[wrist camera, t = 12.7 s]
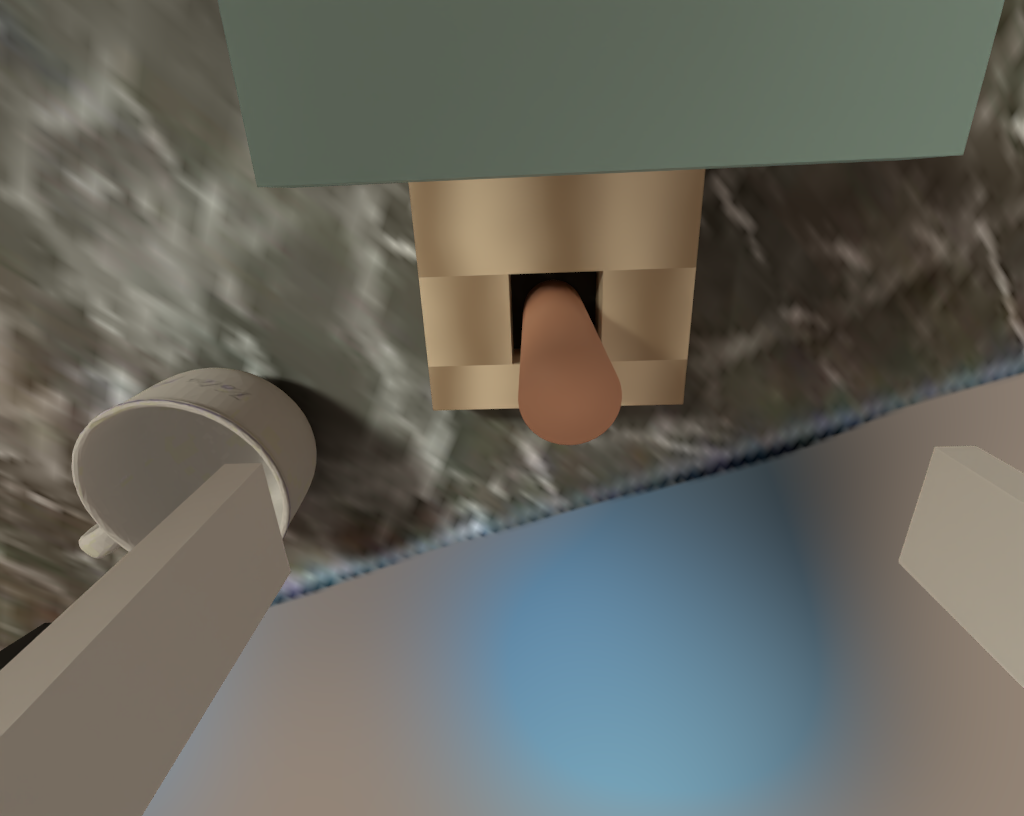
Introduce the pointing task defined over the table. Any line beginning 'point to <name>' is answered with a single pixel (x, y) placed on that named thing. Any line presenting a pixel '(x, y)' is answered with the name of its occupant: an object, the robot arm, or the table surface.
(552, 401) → the peg
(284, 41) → the green-topped stool
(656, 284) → the socket block
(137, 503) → the teacup
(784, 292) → the table surface
